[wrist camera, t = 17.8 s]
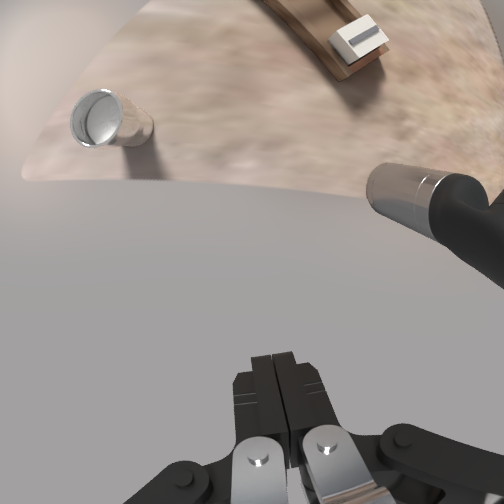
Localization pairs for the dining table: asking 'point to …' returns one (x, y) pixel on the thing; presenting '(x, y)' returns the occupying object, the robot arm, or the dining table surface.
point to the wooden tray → (323, 30)
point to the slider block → (357, 39)
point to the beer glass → (109, 121)
